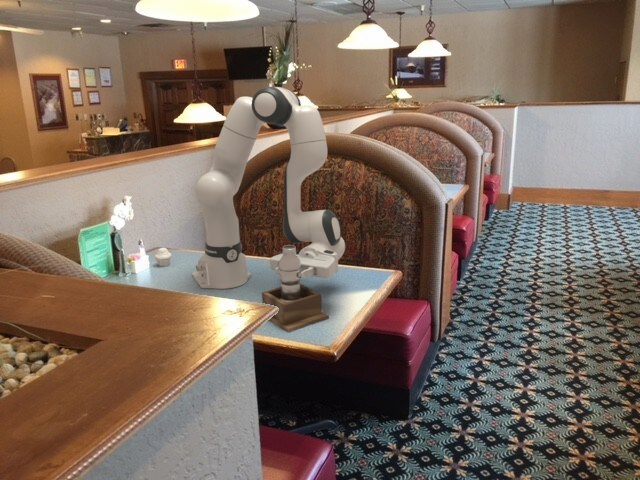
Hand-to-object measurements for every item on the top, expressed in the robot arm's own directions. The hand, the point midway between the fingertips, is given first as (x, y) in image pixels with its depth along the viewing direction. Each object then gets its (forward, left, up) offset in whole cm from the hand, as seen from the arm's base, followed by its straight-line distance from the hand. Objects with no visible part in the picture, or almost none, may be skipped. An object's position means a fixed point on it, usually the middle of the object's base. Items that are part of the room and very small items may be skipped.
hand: (288, 273), depth 155 cm
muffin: (-70, -11, -14) cm, 73 cm away
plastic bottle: (-1, +1, -13) cm, 13 cm away
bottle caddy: (0, +1, -13) cm, 13 cm away
